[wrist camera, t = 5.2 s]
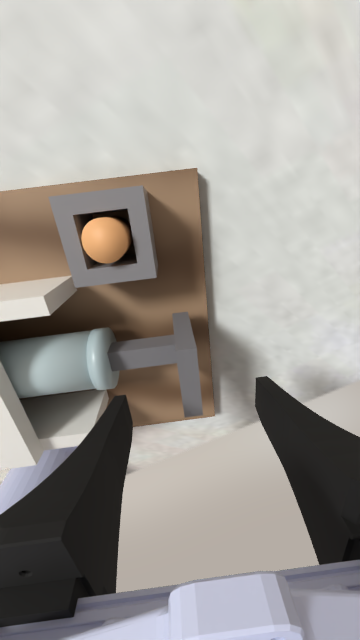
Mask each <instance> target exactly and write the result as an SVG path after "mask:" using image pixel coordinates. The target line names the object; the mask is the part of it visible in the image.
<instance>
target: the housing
mask: <svg viewBox="0 0 360 640" xmlns="http://www.w3.org/2000/svg"><path fill="white" fill-rule="evenodd" d="M48 198H49V201H50V205H51V208H52V211H53V215H54V218H55V222H56V225H57V228H58V232H59V235H60V238H61V242H62V245H63V249H64V252H65V255H66V259H67V262H68V265H69V269H70V272H71V276H64V277H56V278H48V279H40V280H32V281H24V282H16V283H8V284H0V322H1V321H9V320H17V319H25V318H33V317H41V316H49V315H51V314H52V313H53V312H54V311H55V310H57V309H58V308H59V307H60V306H61V305H62V304H63V303H64V302H65V301H66V300H67V299H69V298H70V297H71V296H72V295H73V294H74V293H75V292H76V291H77V288H79V287H87V286H95V285H103V284H111V283H119V282H127V281H135V280H143V279H151V278H157V270H158V261H157V255H156V248H155V241H154V234H153V227H152V221H151V214H150V207H149V200H148V193H147V190H146V189H145V188H144V187H143V185H141V186H133V187H125V188H116V189H108V190H100V191H92V192H83V193H75V194H67V195H58V196H50V197H48ZM123 210H128V214H129V219H130V225H131V230H132V236H133V242H134V247H135V253H136V254H131V255H123V256H122V257H121V258H120V259H119V260H117V261H115V262H113V263H107V264H106V263H100V262H97V261H95V260H93V259H92V258H91V257H90V256H89V255H88V254H87V253H86V251H85V250H84V248H83V245H82V239H81V237H82V231H83V229H84V227H85V225H86V224H87V223H88V222H89V221H91V220H93V216H92V214H98V213H107V212H115V211H123ZM108 400H109V397H108V394H107V390H91V391H83V392H76V393H68V394H60V395H53V396H45V397H37V398H29V399H22V400H19V398H18V396H17V394H16V392H15V390H14V388H13V386H12V384H11V382H10V380H9V378H8V376H7V374H6V371H5V369H4V367H3V365H2V363H1V361H0V470H4V469H12V468H19V467H27V466H34V465H37V463H38V461H39V459H40V457H41V455H42V453H43V451H44V450H51V449H59V448H66V447H74V446H78V445H79V444H80V443H81V442H82V441H83V439H84V438H85V437H86V436H87V434H88V433H89V432H90V431H91V429H92V428H93V427H94V425H95V424H96V422H97V421H98V420H99V418H100V417H101V415H102V414H103V413H104V411H105V410H106V407H107V404H108Z"/></svg>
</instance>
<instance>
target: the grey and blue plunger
mask: <svg viewBox="0 0 360 640" xmlns="http://www.w3.org/2000/svg"><path fill="white" fill-rule="evenodd" d="M172 317H173V329H174V335H167V336H159V337H151V338H143V339H135V340H127V341H120V342H116V338H115V336H114V333H113V331H112V330H111V329H110V328H108V327H107V328H99V329H93V330H90V331H82V332H74V333H66V334H58V335H50V336H43V337H35V338H27V339H19V340H11V341H3V342H0V361H1V363H2V365H3V367H4V369H5V371H6V374H7V376H8V378H9V380H10V382H11V384H12V386H13V388H14V390H15V392H16V394H17V396H18V398H27V397H35V396H42V395H50V394H58V393H66V392H73V391H81V390H89V389H97V390H106V389H113V388H115V387H116V386H117V383H118V379H119V371H120V370H128V369H136V368H143V367H151V366H159V365H167V364H174V363H177V366H178V374H179V381H180V388H181V395H182V403H183V410H184V417H193V416H201V415H203V409H202V398H201V388H200V377H199V367H198V357H197V347H196V343H195V339H194V335H193V331H192V327H191V323H190V319H189V315H188V312H180V313H173V314H172Z"/></svg>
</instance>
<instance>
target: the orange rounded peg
mask: <svg viewBox="0 0 360 640" xmlns="http://www.w3.org/2000/svg"><path fill="white" fill-rule="evenodd" d="M81 239H82V245H83V248H84V250H85V251H86V253H87V254H88V255H89V256H90V257H91V258H92V259H93V260H95V261H97V262H100V263H106V264H107V263H113V262H115V261H117V260H119V259H120V258H121V257H122V256H123V255H124V254H125V253H126V252H127V250H128V249H129V248H130V247H131V246H132V244H133V236H132V230H131V225H130V223H129V222H128V221H127V220H125V219H123V218H121V217H117V216H113V217H102V218H96V219H93V220H91V221H89V222H88V223H87V224H86V225H85V227H84V229H83V231H82V237H81Z"/></svg>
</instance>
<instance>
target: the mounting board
mask: <svg viewBox="0 0 360 640" xmlns="http://www.w3.org/2000/svg"><path fill="white" fill-rule="evenodd" d="M141 185H143V187H144V188H145V189H146V190H147V193H148V200H149V207H150V214H151V221H152V227H153V234H154V241H155V248H156V255H157V261H158V270H157V278H151V279H143V280H135V281H127V282H119V283H111V284H103V285H95V286H87V287H79V288H77V291H76V292H75V293H74V294H73V295H72V296H71V297H70V298H69V299H67V300H66V301H65V302H64V303H63V304H62V305H61V306H60V307H59V308H58V309H57V310H55V311H54V312H53V313H52V314H51V315H49V316H41V317H33V318H25V319H17V320H9V321H1V322H0V342H3V341H11V340H19V339H27V338H35V337H43V336H50V335H58V334H66V333H74V332H82V331H90V330H93V329H99V328H107V327H108V328H110V329H111V330H112V331H113V333H114V336H115V338H116V342H120V341H127V340H135V339H143V338H151V337H159V336H167V335H174V329H173V317H172V314H173V313H180V312H188V315H189V319H190V323H191V327H192V331H193V335H194V339H195V343H196V347H197V357H198V367H199V377H200V388H201V398H202V409H203V415H201V416H193V417H184V410H183V403H182V395H181V388H180V381H179V374H178V366H177V363H174V364H167V365H159V366H151V367H143V368H136V369H128V370H120V371H119V379H118V383H117V386H116V387H115V388H113V389H106V390H107V394H108V397H109V400H108V404H107V407H108V405H109V404H110V402H111V401H112V399H113V398H114V396H119V395H126V397H127V401H128V405H129V409H130V413H131V417H132V421H133V427H136V426H144V425H151V424H159V423H167V422H174V421H182V420H189V419H197V418H205V417H212V416H215V412H214V398H213V384H212V370H211V356H210V342H209V328H208V313H207V299H206V285H205V271H204V257H203V243H202V229H201V215H200V201H199V187H198V173H197V168H192V169H184V170H175V171H167V172H159V173H150V174H142V175H134V176H125V177H117V178H109V179H100V180H92V181H84V182H75V183H67V184H59V185H50V186H42V187H34V188H26V189H17V190H9V191H1V192H0V284H8V283H16V282H24V281H32V280H40V279H48V278H56V277H64V276H71V272H70V269H69V265H68V262H67V259H66V255H65V252H64V249H63V245H62V242H61V238H60V235H59V232H58V228H57V225H56V222H55V218H54V215H53V211H52V208H51V205H50V201H49V198H48V197H50V196H58V195H67V194H75V193H83V192H92V191H100V190H108V189H116V188H125V187H133V186H141ZM92 216H93V219H96V218H102V217H113V216H117V217H121V218H123V219H125V220H127V221H128V222H129V223H130V219H129V214H128V210H123V211H115V212H107V213H98V214H92ZM131 254H136V253H135V247H134V242H133V244H132V246H131V247H130V248H129V249H128V250H127V252H126V253H125V254H124V255H131ZM91 390H97V389H89V390H81V391H73V392H66V393H58V394H50V395H42V396H35V397H27V398H19V400H22V399H29V398H37V397H45V396H53V395H60V394H68V393H76V392H83V391H91ZM107 407H106V408H107Z"/></svg>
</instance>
